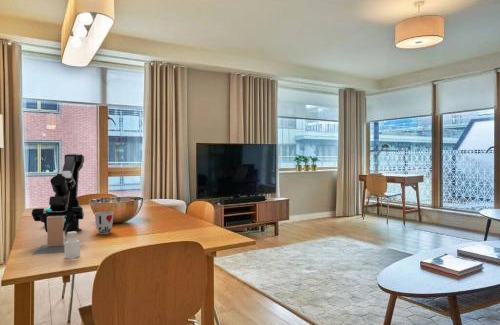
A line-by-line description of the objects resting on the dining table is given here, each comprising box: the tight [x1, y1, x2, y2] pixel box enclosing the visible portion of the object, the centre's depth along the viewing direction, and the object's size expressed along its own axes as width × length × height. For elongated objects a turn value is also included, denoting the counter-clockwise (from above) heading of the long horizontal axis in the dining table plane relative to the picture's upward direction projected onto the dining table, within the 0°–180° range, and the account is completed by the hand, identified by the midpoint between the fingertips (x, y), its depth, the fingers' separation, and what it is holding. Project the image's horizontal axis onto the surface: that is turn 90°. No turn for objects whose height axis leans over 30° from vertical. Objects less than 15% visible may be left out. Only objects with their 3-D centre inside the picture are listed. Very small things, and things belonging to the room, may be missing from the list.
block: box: [46, 216, 66, 247], centre depth 144 cm, size 2×6×12 cm, turn 106°
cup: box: [94, 211, 114, 235], centre depth 168 cm, size 8×8×10 cm
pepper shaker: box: [64, 231, 81, 260], centre depth 129 cm, size 4×4×10 cm
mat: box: [31, 244, 65, 256], centre depth 140 cm, size 14×12×1 cm
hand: (55, 231), depth 142 cm, fingers closed on block, 6 cm apart
